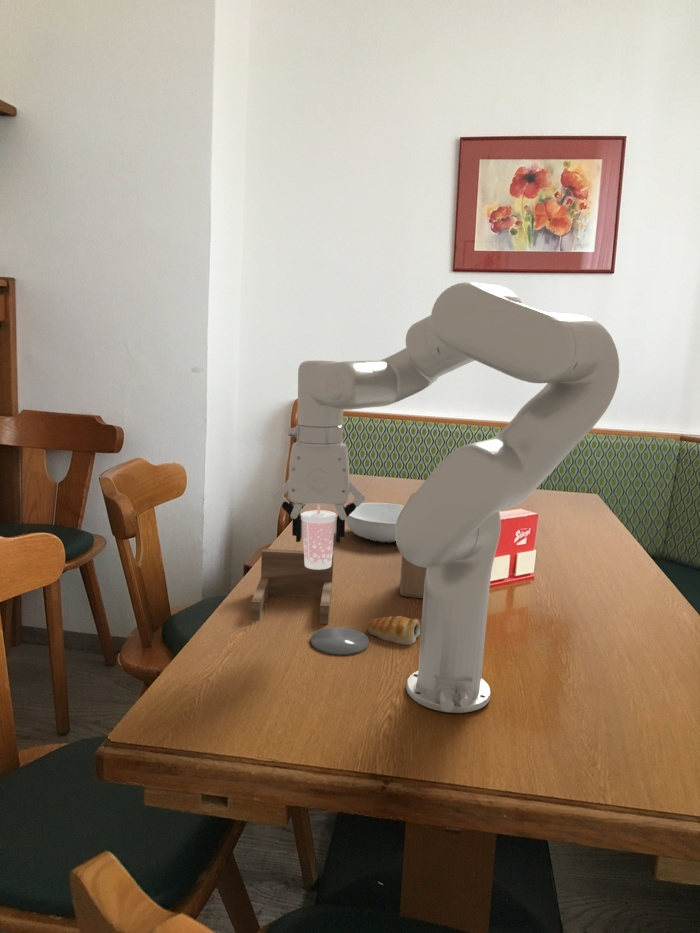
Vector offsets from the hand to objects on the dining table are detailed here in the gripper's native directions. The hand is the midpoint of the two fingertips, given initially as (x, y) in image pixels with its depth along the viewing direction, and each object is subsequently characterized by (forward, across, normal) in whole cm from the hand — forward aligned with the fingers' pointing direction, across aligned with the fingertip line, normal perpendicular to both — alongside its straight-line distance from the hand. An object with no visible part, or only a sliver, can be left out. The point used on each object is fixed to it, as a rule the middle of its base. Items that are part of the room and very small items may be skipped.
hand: (318, 539), depth 128 cm
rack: (+17, -5, +14) cm, 23 cm away
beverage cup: (+5, 0, 0) cm, 5 cm away
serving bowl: (+17, +14, +64) cm, 67 cm away
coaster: (+18, +4, -1) cm, 18 cm away
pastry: (+19, +14, +3) cm, 23 cm away
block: (+18, +21, +26) cm, 38 cm away
